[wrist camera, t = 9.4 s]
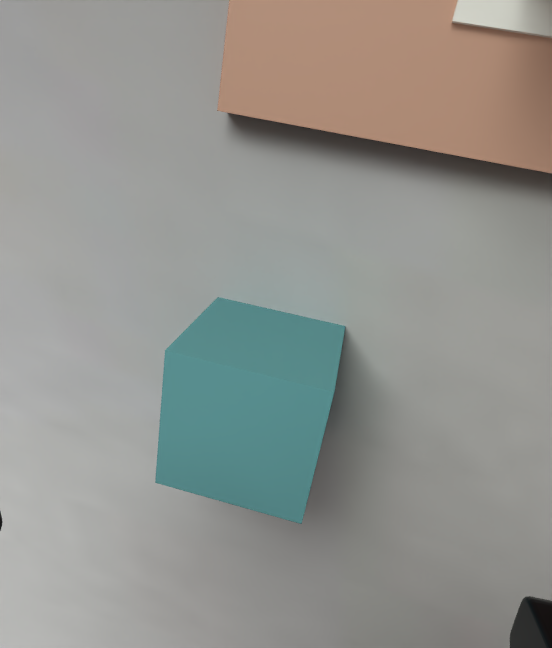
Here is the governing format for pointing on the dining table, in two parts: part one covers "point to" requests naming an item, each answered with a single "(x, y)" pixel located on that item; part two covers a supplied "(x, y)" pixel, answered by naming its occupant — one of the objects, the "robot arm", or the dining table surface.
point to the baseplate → (399, 72)
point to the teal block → (247, 406)
